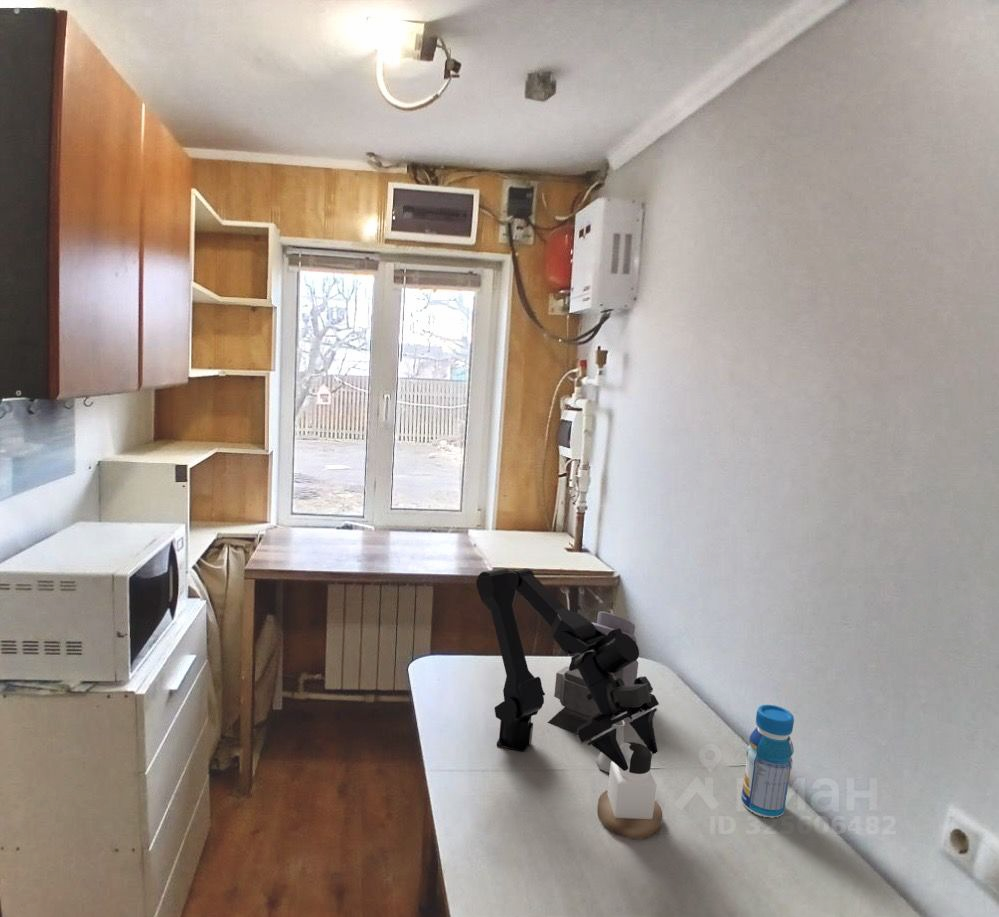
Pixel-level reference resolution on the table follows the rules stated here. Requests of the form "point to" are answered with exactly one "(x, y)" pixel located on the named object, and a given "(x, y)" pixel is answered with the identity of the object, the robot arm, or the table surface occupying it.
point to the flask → (604, 761)
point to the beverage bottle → (768, 762)
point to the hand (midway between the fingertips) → (641, 761)
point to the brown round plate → (628, 821)
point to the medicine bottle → (632, 784)
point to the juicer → (574, 688)
